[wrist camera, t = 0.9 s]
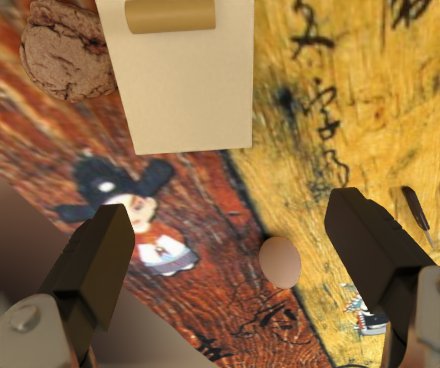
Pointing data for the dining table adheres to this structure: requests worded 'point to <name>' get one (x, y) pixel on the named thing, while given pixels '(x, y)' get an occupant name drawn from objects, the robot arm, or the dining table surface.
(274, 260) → the egg
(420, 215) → the kitchen knife
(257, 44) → the dining table surface
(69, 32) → the cookie
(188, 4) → the lid
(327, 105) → the dining table surface
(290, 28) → the dining table surface
